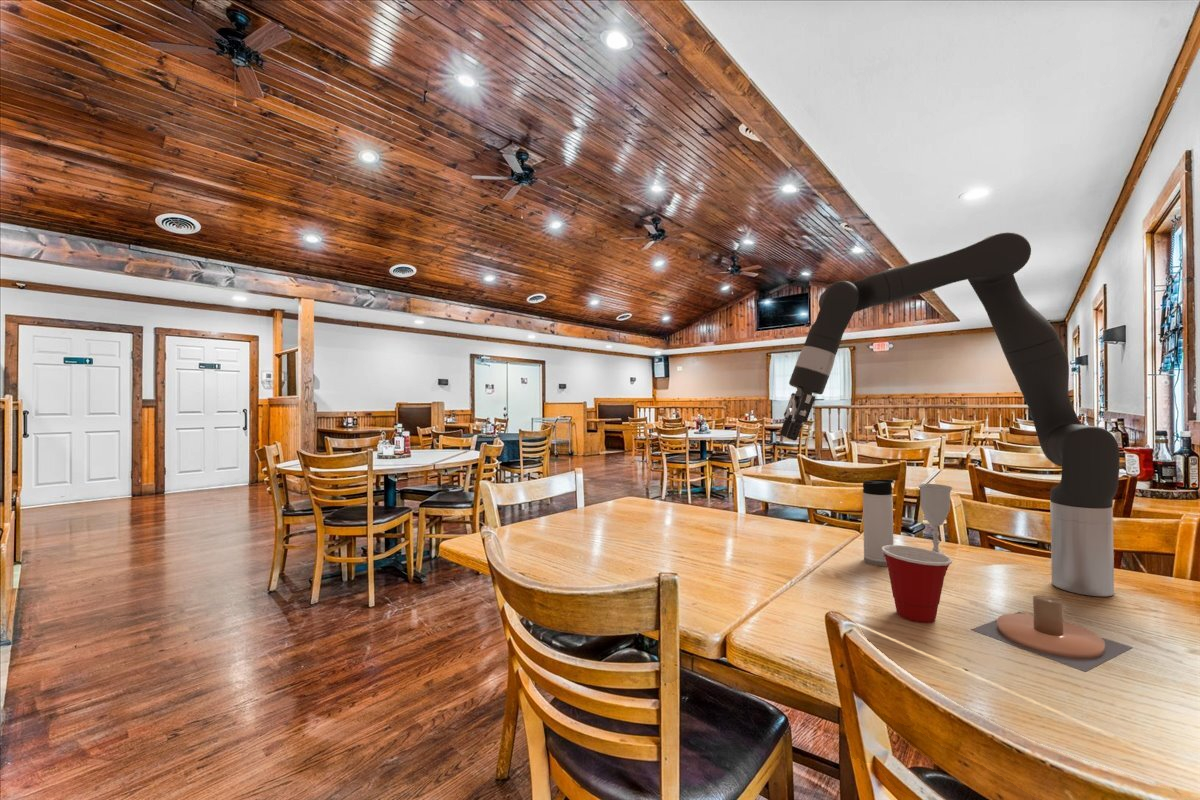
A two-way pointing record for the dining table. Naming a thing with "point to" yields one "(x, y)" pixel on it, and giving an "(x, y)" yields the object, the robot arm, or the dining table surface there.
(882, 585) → the dining table surface
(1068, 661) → the mat
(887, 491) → the travel mug
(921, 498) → the chalice
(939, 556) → the plastic cup
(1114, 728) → the dining table surface
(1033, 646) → the lid
